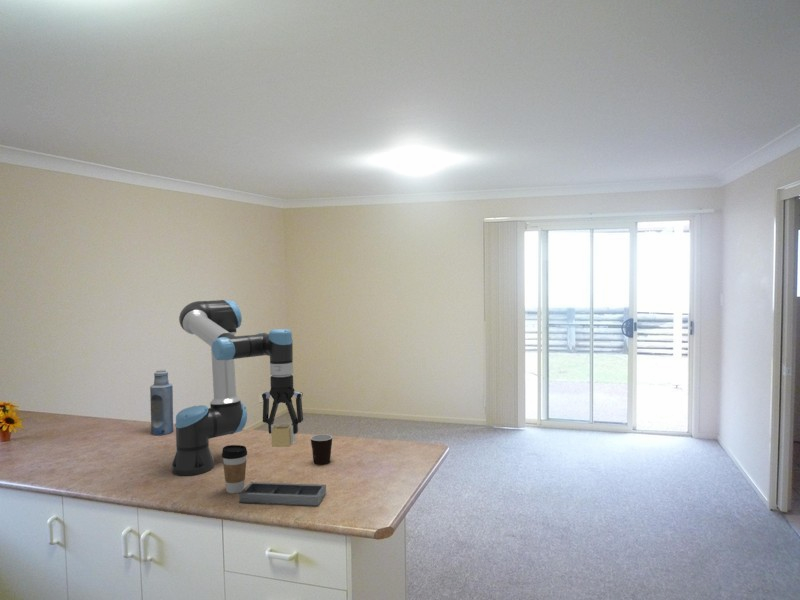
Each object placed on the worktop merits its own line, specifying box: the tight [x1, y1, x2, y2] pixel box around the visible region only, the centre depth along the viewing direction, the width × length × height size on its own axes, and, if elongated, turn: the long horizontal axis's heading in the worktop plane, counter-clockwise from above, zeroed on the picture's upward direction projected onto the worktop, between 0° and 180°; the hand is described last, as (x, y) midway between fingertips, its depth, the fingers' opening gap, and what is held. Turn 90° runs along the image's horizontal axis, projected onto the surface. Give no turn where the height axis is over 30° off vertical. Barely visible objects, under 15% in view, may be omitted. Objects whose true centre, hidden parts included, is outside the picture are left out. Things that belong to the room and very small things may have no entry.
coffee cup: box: [221, 444, 248, 494], centre depth 183 cm, size 8×8×15 cm
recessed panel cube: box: [271, 423, 293, 448], centre depth 179 cm, size 6×6×6 cm
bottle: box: [149, 369, 174, 436], centre depth 251 cm, size 10×10×30 cm
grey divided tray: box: [238, 481, 327, 507], centre depth 176 cm, size 26×10×3 cm, turn 83°
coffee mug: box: [310, 433, 333, 466], centre depth 211 cm, size 12×9×10 cm
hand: (283, 442), depth 179 cm, fingers closed on recessed panel cube, 6 cm apart
